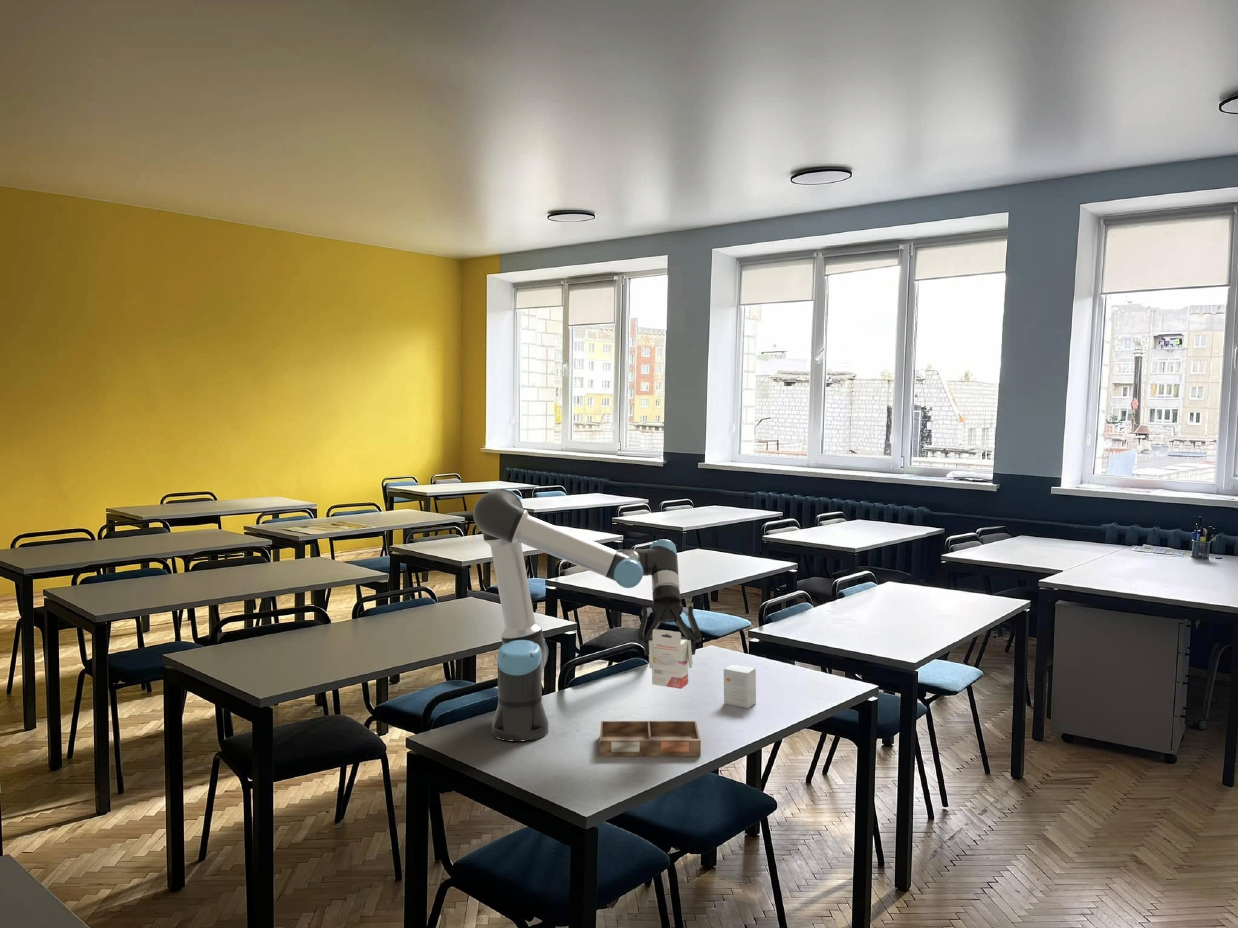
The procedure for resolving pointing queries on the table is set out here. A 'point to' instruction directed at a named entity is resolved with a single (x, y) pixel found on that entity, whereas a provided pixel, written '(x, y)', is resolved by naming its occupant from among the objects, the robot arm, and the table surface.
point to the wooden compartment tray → (649, 738)
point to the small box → (739, 686)
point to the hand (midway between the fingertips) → (670, 665)
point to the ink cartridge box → (669, 659)
